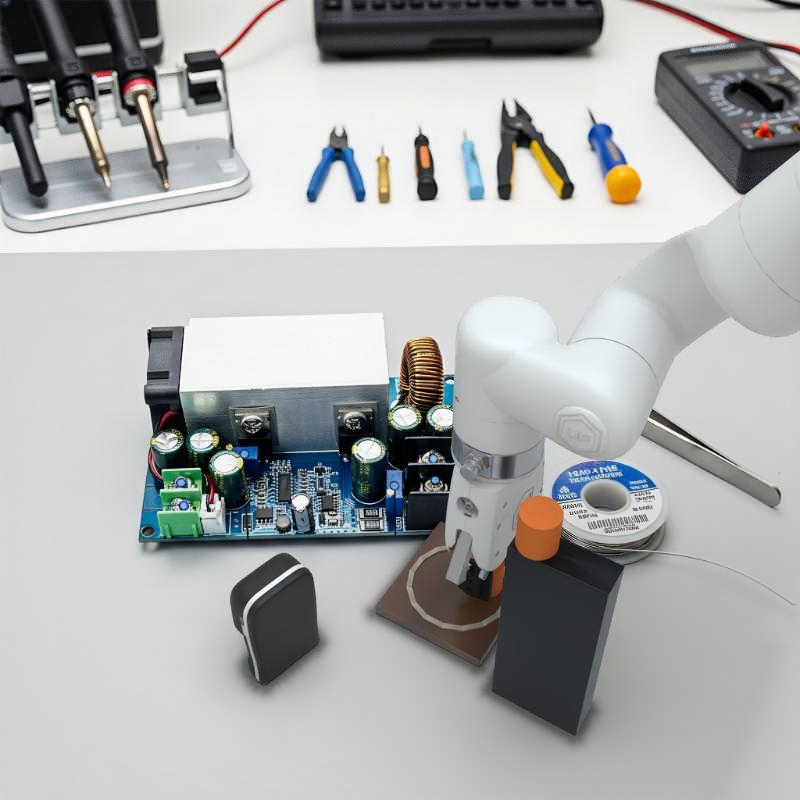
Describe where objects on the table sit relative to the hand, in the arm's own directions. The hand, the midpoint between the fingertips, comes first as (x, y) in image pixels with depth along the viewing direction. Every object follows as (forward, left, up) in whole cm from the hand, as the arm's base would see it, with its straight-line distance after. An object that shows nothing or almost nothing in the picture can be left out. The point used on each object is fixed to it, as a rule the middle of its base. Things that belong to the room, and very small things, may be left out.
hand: (486, 574), depth 92 cm
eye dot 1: (0, 0, -2) cm, 2 cm away
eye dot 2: (-7, +8, +17) cm, 20 cm away
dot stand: (-9, +8, -3) cm, 12 cm away
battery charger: (+13, +16, -3) cm, 20 cm away
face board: (+2, +2, -3) cm, 4 cm away
